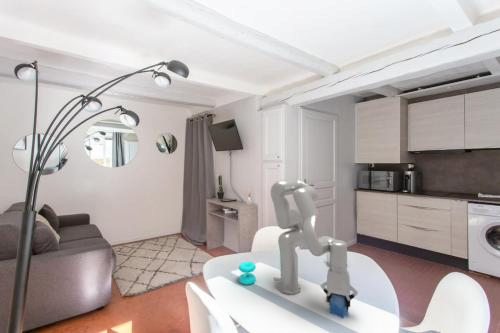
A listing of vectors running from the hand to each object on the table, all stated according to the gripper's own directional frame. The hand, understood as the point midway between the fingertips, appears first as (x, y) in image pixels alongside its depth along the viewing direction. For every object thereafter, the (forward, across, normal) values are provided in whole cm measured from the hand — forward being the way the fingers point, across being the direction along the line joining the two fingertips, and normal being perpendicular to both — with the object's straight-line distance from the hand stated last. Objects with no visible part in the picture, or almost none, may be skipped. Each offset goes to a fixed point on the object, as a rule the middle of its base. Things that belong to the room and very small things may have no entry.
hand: (338, 305), depth 114 cm
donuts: (+3, -52, +9) cm, 53 cm away
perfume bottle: (+3, 0, 0) cm, 3 cm away
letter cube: (+3, -4, +9) cm, 10 cm away
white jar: (+3, -7, +53) cm, 54 cm away
